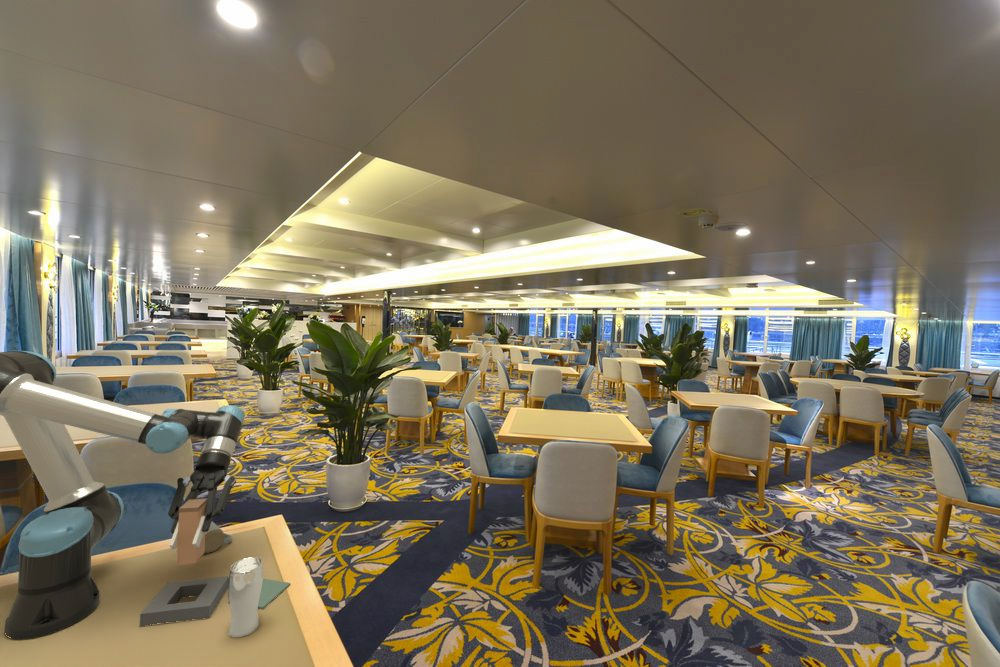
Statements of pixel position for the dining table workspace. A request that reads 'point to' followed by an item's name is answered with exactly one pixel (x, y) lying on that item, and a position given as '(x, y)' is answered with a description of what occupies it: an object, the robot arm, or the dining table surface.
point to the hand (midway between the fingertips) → (184, 546)
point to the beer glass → (244, 595)
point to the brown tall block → (190, 531)
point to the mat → (270, 591)
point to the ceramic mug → (215, 538)
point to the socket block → (171, 611)
